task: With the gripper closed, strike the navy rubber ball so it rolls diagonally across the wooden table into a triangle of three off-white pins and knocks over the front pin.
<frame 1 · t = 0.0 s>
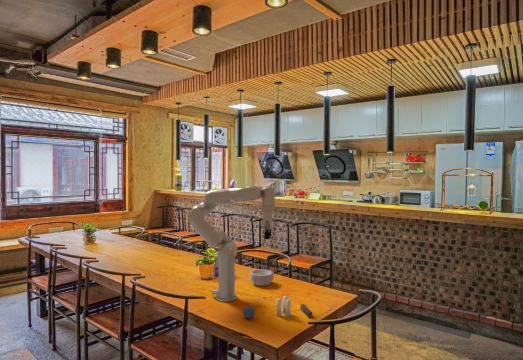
hand: (267, 237, 203), 37 cm above the table, tool pointing down, fingers open, 9 cm apart
paper bowls: (261, 284, 233), on the table
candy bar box: (218, 274, 253), on the table
back left pin: (285, 312, 186), on the table
back right pin: (288, 316, 181), on the table
front pin: (278, 315, 183), on the table
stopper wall: (306, 312, 186), on the table
ball: (248, 312, 179), on the table
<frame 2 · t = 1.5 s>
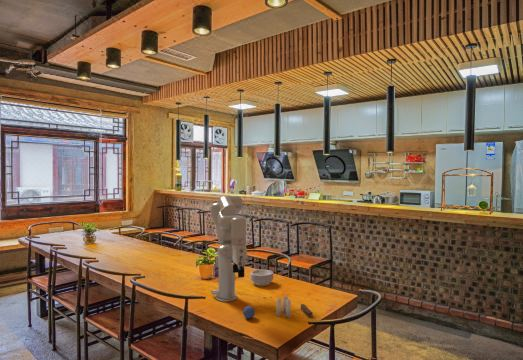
hand: (238, 274, 180), 22 cm above the table, tool pointing down, fingers open, 9 cm apart
nothing on the table moved.
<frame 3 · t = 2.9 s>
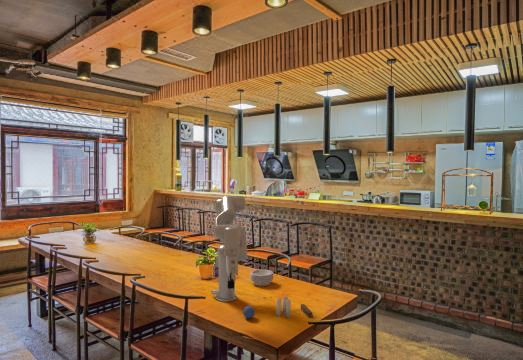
hand: (231, 287, 176), 16 cm above the table, tool pointing down, fingers closed
nothing on the table moved.
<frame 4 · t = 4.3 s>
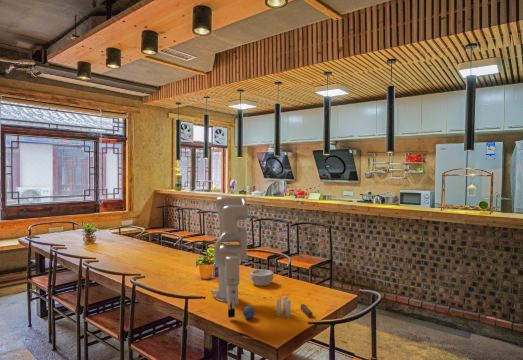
hand: (231, 316, 177), 2 cm above the table, tool pointing down, fingers closed
nothing on the table moved.
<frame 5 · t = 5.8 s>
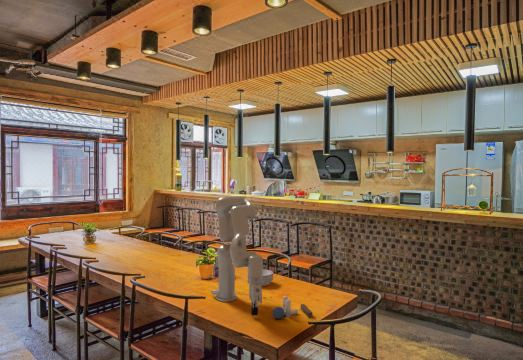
hand: (254, 314, 180), 2 cm above the table, tool pointing down, fingers closed
front pin: (281, 313, 183), point 1 cm above the table, tilted 90°
ball: (278, 312, 179), on the table
everything else where it was.
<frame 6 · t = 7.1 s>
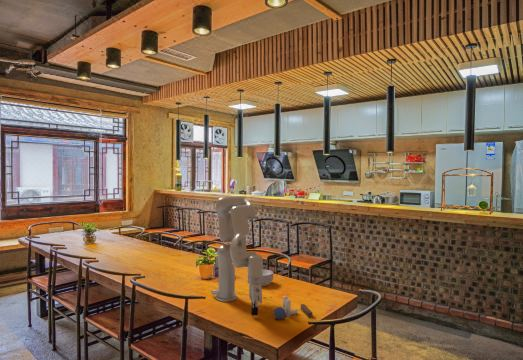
hand: (254, 314, 180), 2 cm above the table, tool pointing down, fingers closed
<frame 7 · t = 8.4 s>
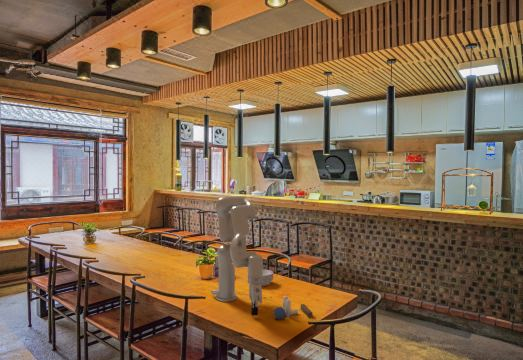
hand: (254, 314, 180), 2 cm above the table, tool pointing down, fingers closed
nothing on the table moved.
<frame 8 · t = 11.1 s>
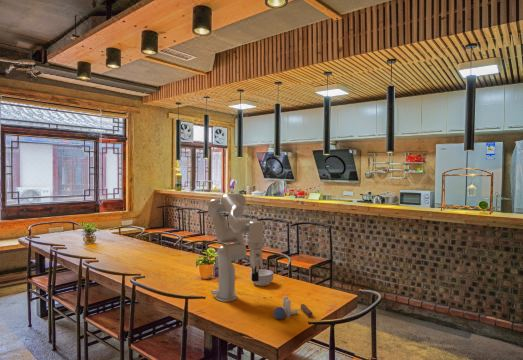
hand: (255, 280, 179), 19 cm above the table, tool pointing down, fingers closed
nothing on the table moved.
at the end: front pin tilted 90°; front pin never touched the robot; ball moved 15.5 cm from its start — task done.
